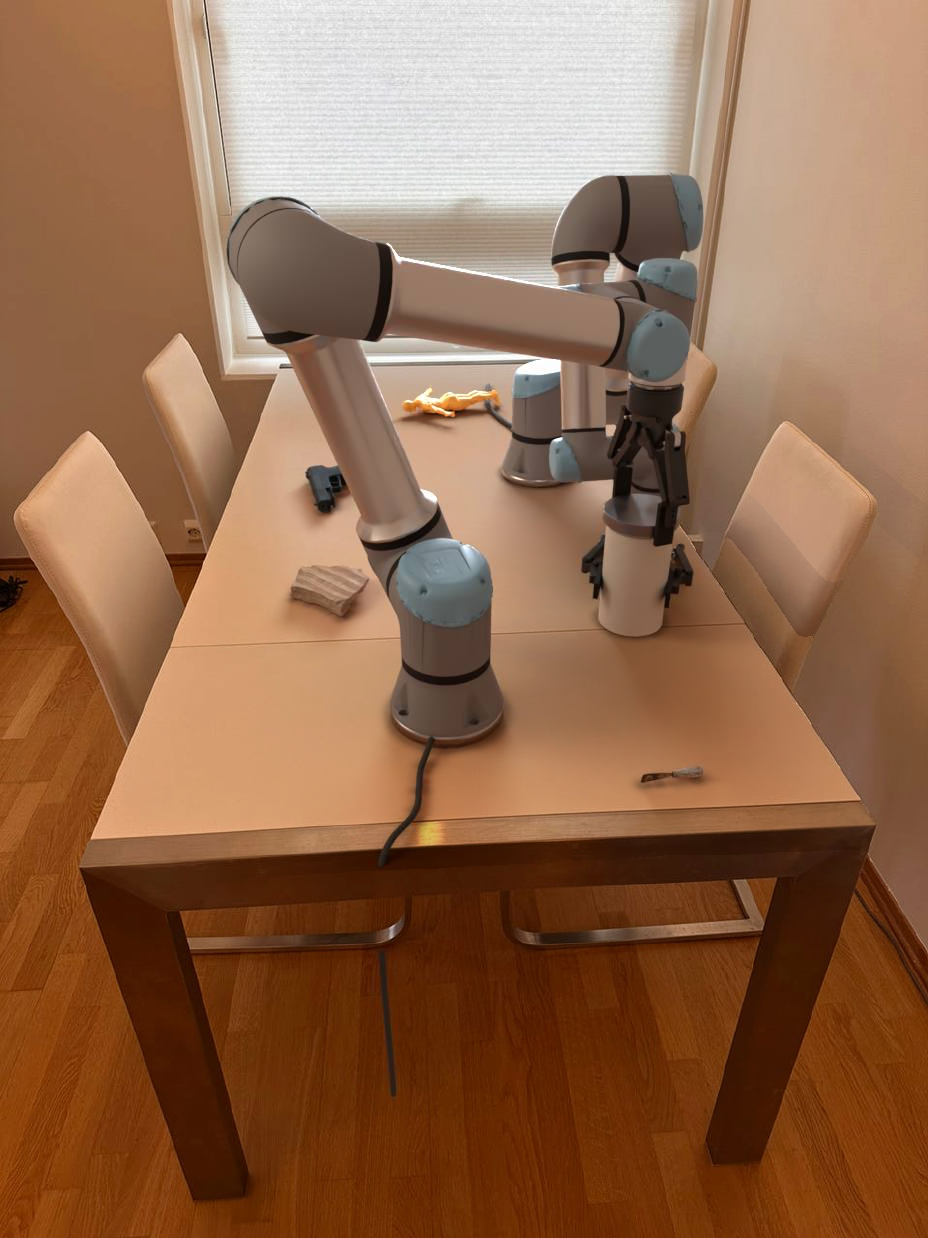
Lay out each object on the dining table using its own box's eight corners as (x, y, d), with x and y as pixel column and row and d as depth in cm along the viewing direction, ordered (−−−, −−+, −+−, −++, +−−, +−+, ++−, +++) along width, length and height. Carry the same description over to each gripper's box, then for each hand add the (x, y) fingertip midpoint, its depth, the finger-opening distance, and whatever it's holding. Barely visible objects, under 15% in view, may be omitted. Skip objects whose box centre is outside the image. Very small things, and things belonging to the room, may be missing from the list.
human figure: (395, 413, 223) (394, 398, 221) (438, 390, 237) (438, 375, 235) (462, 429, 215) (462, 413, 213) (502, 404, 229) (503, 388, 227)
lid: (684, 538, 127) (685, 527, 126) (604, 535, 127) (605, 524, 126) (675, 505, 136) (676, 494, 135) (601, 502, 137) (602, 492, 136)
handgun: (375, 507, 177) (315, 514, 174) (360, 472, 191) (304, 479, 188) (374, 492, 175) (313, 499, 172) (359, 458, 189) (302, 465, 187)
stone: (378, 583, 151) (377, 570, 149) (343, 618, 141) (342, 604, 140) (312, 570, 155) (310, 557, 154) (274, 603, 146) (272, 589, 144)
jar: (671, 614, 142) (686, 510, 133) (647, 643, 135) (660, 535, 125) (614, 597, 147) (624, 495, 137) (587, 624, 140) (596, 519, 130)
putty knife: (703, 777, 109) (705, 767, 109) (642, 788, 108) (644, 777, 107) (700, 772, 110) (702, 762, 109) (639, 782, 109) (640, 771, 108)
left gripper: (731, 406, 112) (707, 557, 123) (637, 355, 132) (623, 490, 143) (679, 413, 110) (660, 566, 121) (591, 360, 129) (581, 497, 141)
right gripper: (709, 558, 151) (704, 627, 133) (577, 543, 156) (555, 607, 138) (716, 518, 148) (712, 583, 129) (580, 504, 153) (558, 564, 134)
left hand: (640, 525), depth 132 cm, fingers open, 12 cm apart
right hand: (631, 595), depth 134 cm, fingers closed on jar, 10 cm apart
